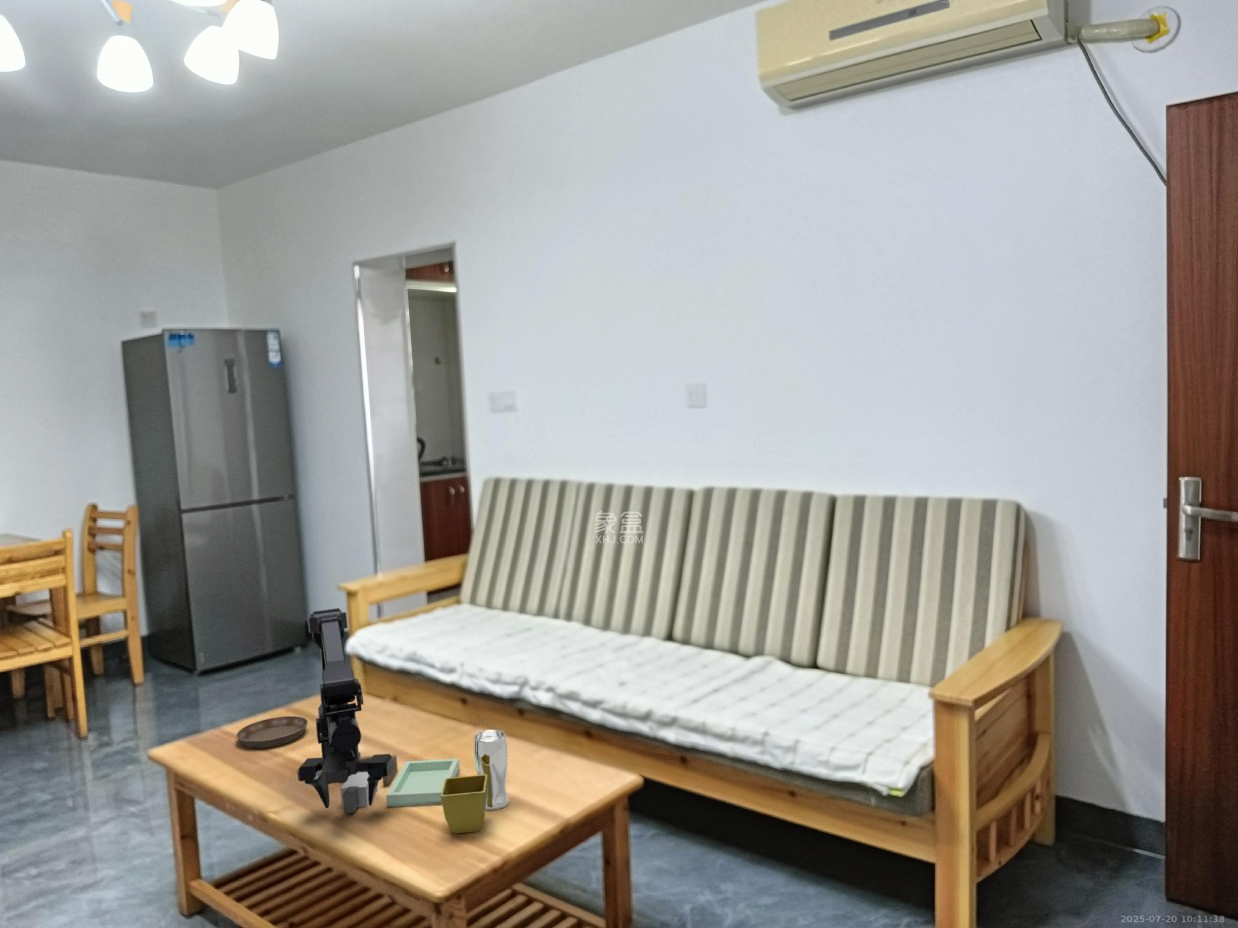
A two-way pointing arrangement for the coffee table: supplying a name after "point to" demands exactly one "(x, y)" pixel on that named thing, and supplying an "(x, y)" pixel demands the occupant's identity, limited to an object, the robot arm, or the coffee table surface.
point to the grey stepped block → (355, 792)
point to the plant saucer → (272, 731)
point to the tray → (421, 782)
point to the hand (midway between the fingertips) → (349, 806)
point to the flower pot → (464, 802)
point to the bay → (391, 774)
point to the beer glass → (492, 765)
